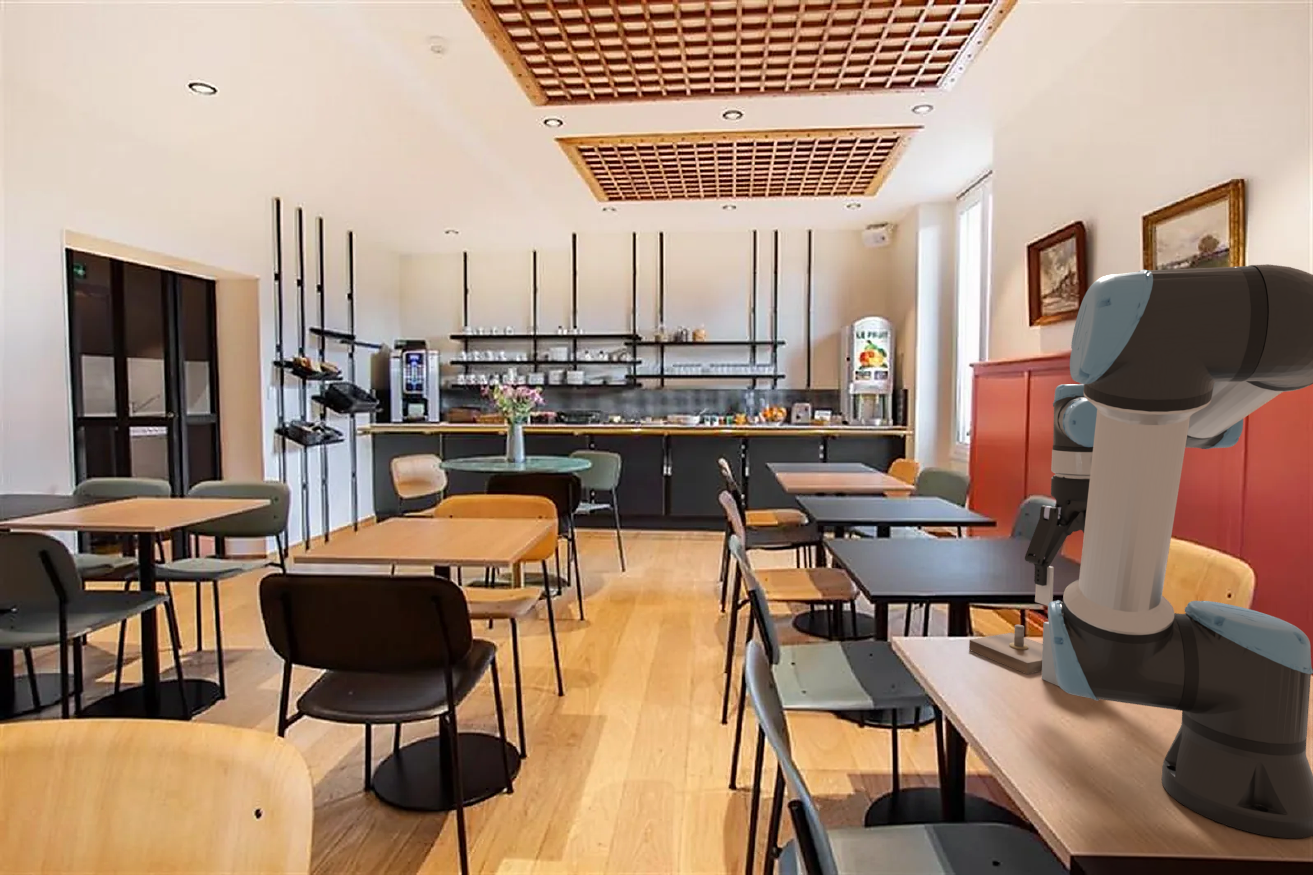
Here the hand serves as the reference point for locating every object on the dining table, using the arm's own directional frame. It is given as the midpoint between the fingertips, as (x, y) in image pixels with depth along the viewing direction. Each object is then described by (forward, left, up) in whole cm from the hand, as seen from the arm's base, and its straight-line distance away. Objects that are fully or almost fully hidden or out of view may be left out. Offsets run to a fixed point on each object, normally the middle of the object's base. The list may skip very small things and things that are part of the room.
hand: (1072, 599), depth 122 cm
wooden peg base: (+2, +12, -14) cm, 19 cm away
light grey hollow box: (0, 0, -15) cm, 14 cm away
